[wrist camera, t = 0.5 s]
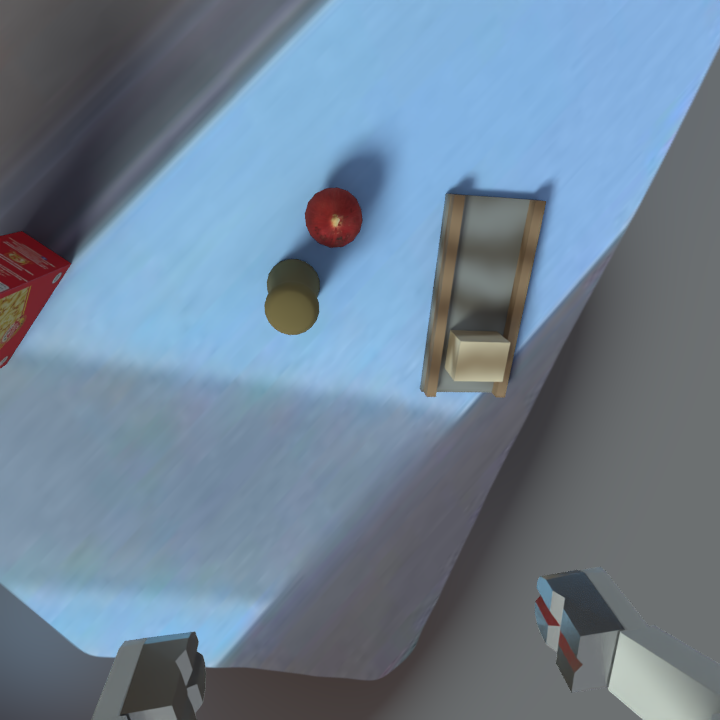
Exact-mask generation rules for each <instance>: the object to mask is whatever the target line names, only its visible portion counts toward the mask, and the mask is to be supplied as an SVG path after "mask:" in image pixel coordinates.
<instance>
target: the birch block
mask: <svg viewBox="0 0 720 720" xmlns="http://www.w3.org/2000/svg"><path fill="white" fill-rule="evenodd" d="M509 347H510V342H509V341H508V340H507V339H505V338H504V337H503V336H502V335H501V334H499V333H498V332H497V331H465V330H450V335H449V342H448V348H447V355H446V361H445V369H446V370H447V372H448V373H449V375H450V376H451V377H452V379H453V380H454V381H478V382H502V381H503V376H504V372H505V367H506V362H507V357H508V352H509Z"/></svg>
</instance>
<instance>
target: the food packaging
mask: <svg viewBox="0 0 720 720" xmlns="http://www.w3.org/2000/svg"><path fill="white" fill-rule="evenodd" d="M70 265H71V263H70V262H68V261H67V260H65V259H64V258H62V257H61V256H59V255H57V254H56V253H54V252H53V251H51V250H50V249H48V248H47V247H45V246H44V245H42V244H41V243H39V242H38V241H36V240H35V239H33V238H32V237H30V236H29V235H27V234H25V233H24V232H22V231H21V232H16V233H12V234H8V235H3V236H0V368H2V367H3V366H5V365H6V364H7V362H8V361H9V359H10V358H11V356H12V355H13V353H14V352H15V350H16V348H17V347H18V345H19V344H20V342H21V341H22V339H23V338H24V336H25V335H26V333H27V331H28V330H29V328H30V327H31V325H32V324H33V322H34V321H35V319H36V318H37V316H38V314H39V313H40V311H41V310H42V308H43V307H44V305H45V304H46V302H47V301H48V299H49V297H50V296H51V294H52V293H53V291H54V290H55V288H56V287H57V285H58V284H59V282H60V280H61V279H62V277H63V276H64V274H65V273H66V271H67V270H68V268H69V267H70Z"/></svg>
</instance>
